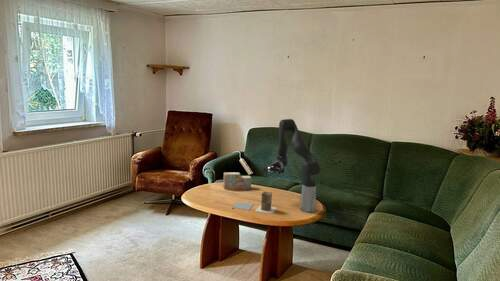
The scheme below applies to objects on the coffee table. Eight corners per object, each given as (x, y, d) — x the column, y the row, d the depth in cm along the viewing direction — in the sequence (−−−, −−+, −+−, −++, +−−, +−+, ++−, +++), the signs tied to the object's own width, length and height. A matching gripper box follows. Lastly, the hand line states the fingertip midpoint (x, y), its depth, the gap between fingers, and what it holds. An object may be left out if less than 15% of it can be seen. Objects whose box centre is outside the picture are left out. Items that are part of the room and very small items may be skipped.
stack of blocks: (249, 186, 299) (250, 172, 297) (251, 189, 293) (251, 174, 291) (223, 187, 295) (223, 172, 293) (224, 189, 289) (224, 174, 287)
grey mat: (254, 205, 254) (254, 204, 254) (249, 210, 242) (249, 209, 242) (237, 203, 257) (237, 202, 257) (231, 208, 246) (231, 207, 246)
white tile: (276, 208, 250) (276, 207, 249) (272, 214, 238) (272, 213, 238) (259, 206, 253) (259, 205, 253) (254, 211, 241) (255, 210, 241)
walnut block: (271, 208, 247) (271, 192, 246) (269, 211, 242) (270, 194, 240) (263, 207, 249) (263, 191, 247) (261, 209, 244) (261, 193, 242)
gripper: (267, 160, 272) (262, 165, 257) (286, 162, 269) (283, 168, 253) (267, 170, 274) (262, 176, 258) (286, 172, 270) (282, 178, 255)
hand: (272, 172), depth 256 cm, fingers open, 8 cm apart
